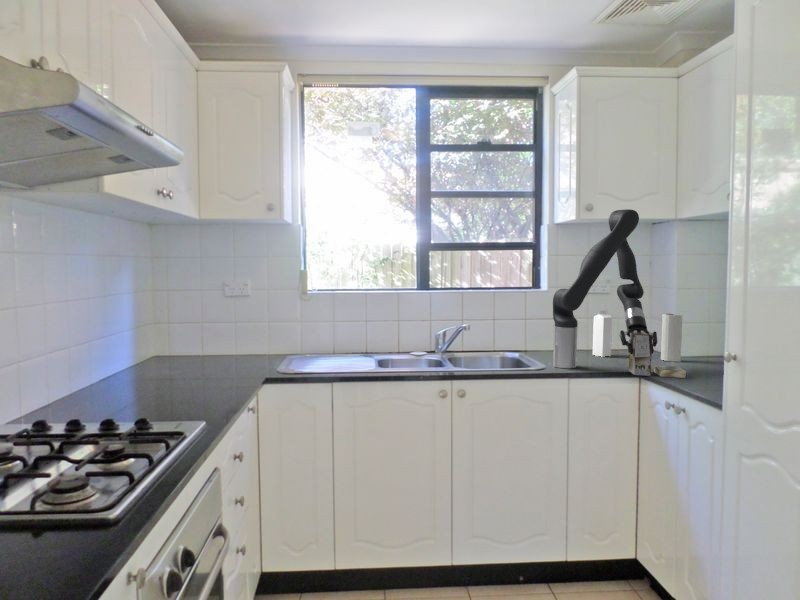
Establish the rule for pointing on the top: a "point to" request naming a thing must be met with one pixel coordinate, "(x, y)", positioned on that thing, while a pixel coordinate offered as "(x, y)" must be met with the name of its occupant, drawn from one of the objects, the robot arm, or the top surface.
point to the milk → (602, 334)
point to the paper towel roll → (671, 337)
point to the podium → (669, 371)
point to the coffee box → (640, 354)
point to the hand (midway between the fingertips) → (641, 353)
